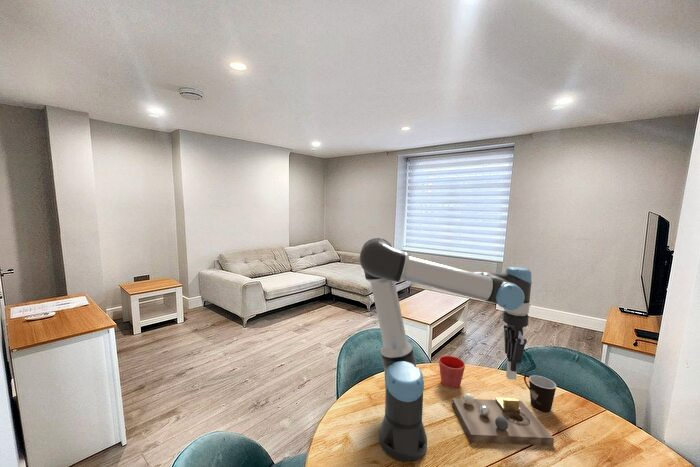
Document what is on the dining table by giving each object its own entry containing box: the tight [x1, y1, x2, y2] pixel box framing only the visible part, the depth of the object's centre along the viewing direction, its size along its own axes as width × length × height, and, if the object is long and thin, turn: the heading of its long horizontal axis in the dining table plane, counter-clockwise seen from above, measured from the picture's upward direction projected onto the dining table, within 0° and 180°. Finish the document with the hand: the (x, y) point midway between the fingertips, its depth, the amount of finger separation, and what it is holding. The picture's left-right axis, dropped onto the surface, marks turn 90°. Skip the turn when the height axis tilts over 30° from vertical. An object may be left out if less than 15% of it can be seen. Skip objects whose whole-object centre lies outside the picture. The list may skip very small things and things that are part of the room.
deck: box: [451, 397, 555, 446], centre depth 99 cm, size 26×18×2 cm
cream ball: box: [463, 392, 475, 405], centre depth 105 cm, size 4×4×4 cm
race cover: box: [494, 397, 520, 411], centre depth 104 cm, size 6×6×4 cm
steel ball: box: [479, 405, 490, 417], centre depth 99 cm, size 3×3×3 cm
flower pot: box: [438, 355, 466, 389], centre depth 122 cm, size 11×11×10 cm
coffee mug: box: [523, 374, 557, 414], centre depth 109 cm, size 12×9×10 cm
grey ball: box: [495, 417, 508, 430], centre depth 93 cm, size 4×4×4 cm
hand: (511, 378), depth 99 cm, fingers closed
